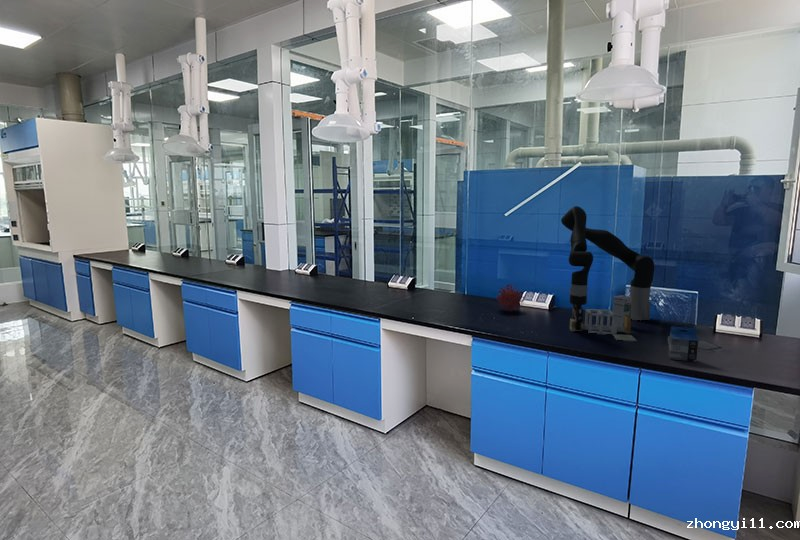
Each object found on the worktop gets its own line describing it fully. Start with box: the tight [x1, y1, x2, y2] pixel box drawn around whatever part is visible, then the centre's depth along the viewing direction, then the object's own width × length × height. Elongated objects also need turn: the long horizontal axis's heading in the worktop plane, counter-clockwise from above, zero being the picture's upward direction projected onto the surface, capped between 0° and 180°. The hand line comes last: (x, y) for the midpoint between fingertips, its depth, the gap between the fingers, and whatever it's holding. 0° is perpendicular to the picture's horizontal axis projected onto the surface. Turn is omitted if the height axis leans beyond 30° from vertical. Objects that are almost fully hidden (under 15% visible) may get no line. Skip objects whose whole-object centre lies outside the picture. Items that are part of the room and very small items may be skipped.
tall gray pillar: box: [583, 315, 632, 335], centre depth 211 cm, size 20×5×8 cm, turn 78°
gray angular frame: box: [584, 308, 618, 335], centre depth 211 cm, size 12×10×10 cm
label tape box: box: [667, 326, 699, 362], centre depth 173 cm, size 9×4×12 cm, turn 69°
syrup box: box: [612, 294, 631, 326], centre depth 222 cm, size 6×6×14 cm
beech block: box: [569, 318, 584, 332], centre depth 214 cm, size 5×5×5 cm
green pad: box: [611, 333, 637, 342], centre depth 201 cm, size 8×8×1 cm
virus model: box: [496, 284, 525, 313], centre depth 250 cm, size 15×15×15 cm
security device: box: [667, 335, 724, 352], centre depth 191 cm, size 17×22×2 cm
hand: (576, 327), depth 214 cm, fingers open, 7 cm apart
